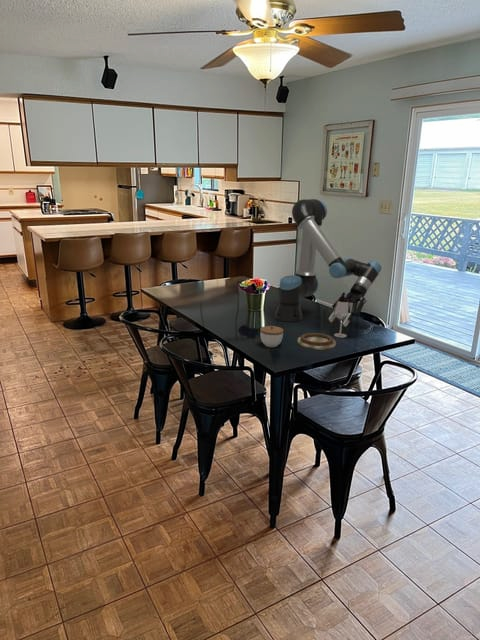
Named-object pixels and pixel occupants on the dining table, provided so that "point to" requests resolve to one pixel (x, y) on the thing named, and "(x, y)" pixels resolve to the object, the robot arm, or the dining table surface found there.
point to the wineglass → (342, 314)
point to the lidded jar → (271, 335)
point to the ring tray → (316, 341)
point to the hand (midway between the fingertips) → (337, 322)
